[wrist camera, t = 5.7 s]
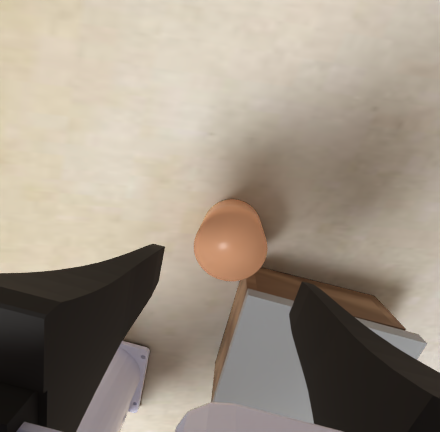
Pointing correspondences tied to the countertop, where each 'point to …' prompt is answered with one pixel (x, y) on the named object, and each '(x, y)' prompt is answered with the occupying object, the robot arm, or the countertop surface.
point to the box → (288, 288)
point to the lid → (279, 358)
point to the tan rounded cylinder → (231, 241)
